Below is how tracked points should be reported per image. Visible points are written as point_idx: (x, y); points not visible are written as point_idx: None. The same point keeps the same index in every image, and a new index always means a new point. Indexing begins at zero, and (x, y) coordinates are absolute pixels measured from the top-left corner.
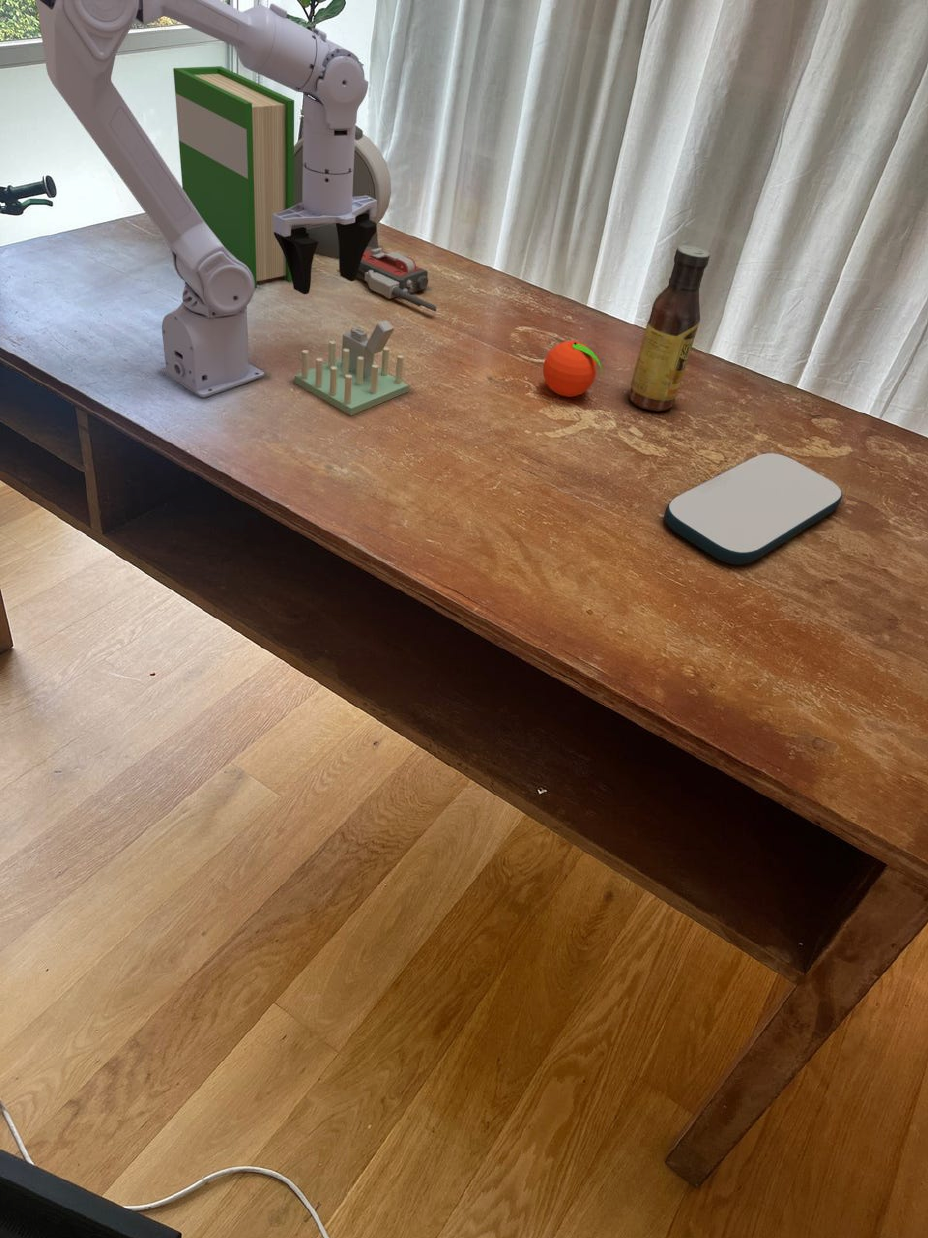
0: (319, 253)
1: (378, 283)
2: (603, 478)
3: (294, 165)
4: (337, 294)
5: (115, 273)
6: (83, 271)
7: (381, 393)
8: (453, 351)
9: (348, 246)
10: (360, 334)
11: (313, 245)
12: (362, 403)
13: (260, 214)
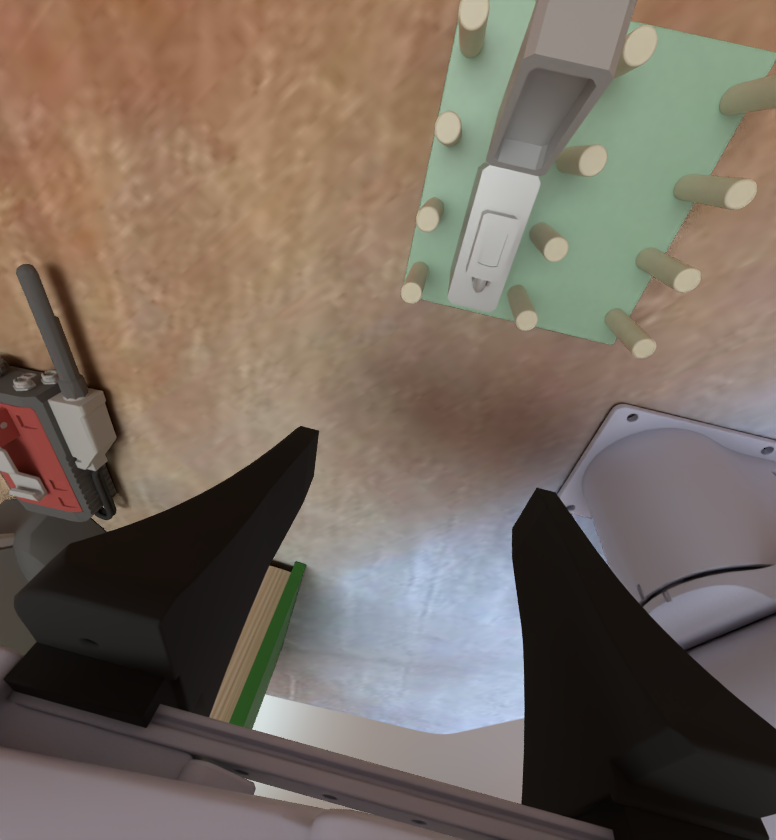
0: None
1: (95, 431)
2: None
3: None
4: (189, 470)
5: (414, 672)
6: (438, 690)
7: None
8: (110, 72)
9: (257, 552)
10: (517, 227)
11: (703, 721)
12: (718, 40)
13: (220, 689)
